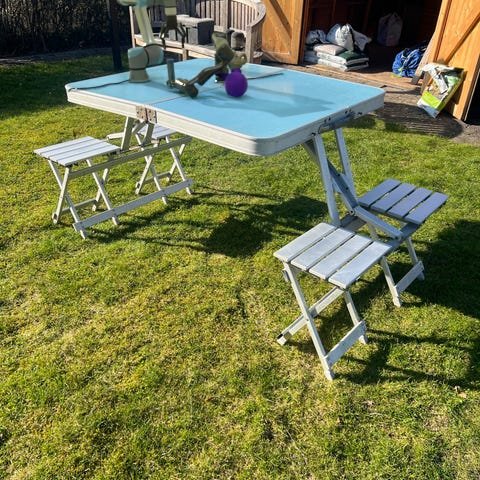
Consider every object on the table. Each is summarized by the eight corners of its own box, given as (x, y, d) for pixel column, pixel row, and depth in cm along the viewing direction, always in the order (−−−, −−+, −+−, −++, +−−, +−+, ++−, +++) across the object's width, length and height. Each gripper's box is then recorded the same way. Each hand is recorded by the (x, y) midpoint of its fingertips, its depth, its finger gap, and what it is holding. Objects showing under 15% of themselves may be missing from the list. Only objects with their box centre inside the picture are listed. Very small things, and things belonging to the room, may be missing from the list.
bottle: (168, 88, 315) (165, 60, 306) (169, 86, 319) (167, 59, 310) (175, 88, 315) (172, 60, 306) (176, 86, 319) (174, 59, 310)
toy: (234, 89, 306) (247, 103, 285) (210, 85, 299) (222, 98, 278) (240, 65, 298) (254, 78, 277) (215, 60, 291) (228, 72, 270)
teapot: (227, 73, 361) (227, 53, 353) (221, 70, 369) (220, 51, 362) (250, 70, 370) (250, 50, 362) (243, 68, 378) (242, 49, 371)
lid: (165, 63, 307) (165, 60, 306) (167, 62, 311) (167, 59, 310) (173, 63, 306) (172, 60, 305) (174, 61, 311) (174, 58, 310)
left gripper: (185, 13, 309) (188, 46, 319) (151, 15, 298) (155, 49, 309) (190, 14, 303) (192, 47, 314) (155, 16, 293) (159, 51, 303)
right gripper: (172, 92, 296) (164, 87, 309) (192, 89, 302) (184, 85, 314) (171, 80, 293) (163, 76, 305) (191, 77, 298) (183, 74, 310)
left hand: (174, 49), depth 311 cm, fingers open, 13 cm apart
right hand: (174, 80), depth 310 cm, fingers open, 8 cm apart
